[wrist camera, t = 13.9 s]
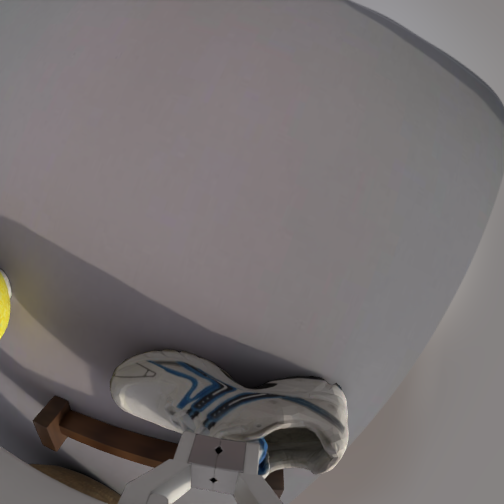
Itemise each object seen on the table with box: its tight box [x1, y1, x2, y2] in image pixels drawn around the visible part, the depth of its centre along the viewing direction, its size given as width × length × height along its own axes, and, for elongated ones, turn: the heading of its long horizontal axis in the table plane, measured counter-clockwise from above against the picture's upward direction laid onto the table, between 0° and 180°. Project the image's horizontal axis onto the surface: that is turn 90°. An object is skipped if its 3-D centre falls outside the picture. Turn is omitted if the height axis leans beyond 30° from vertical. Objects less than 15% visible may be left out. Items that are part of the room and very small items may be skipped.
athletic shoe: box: [110, 349, 349, 479], centre depth 24 cm, size 10×23×12 cm, turn 89°
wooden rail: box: [33, 396, 284, 499], centre depth 29 cm, size 30×5×6 cm, turn 82°
